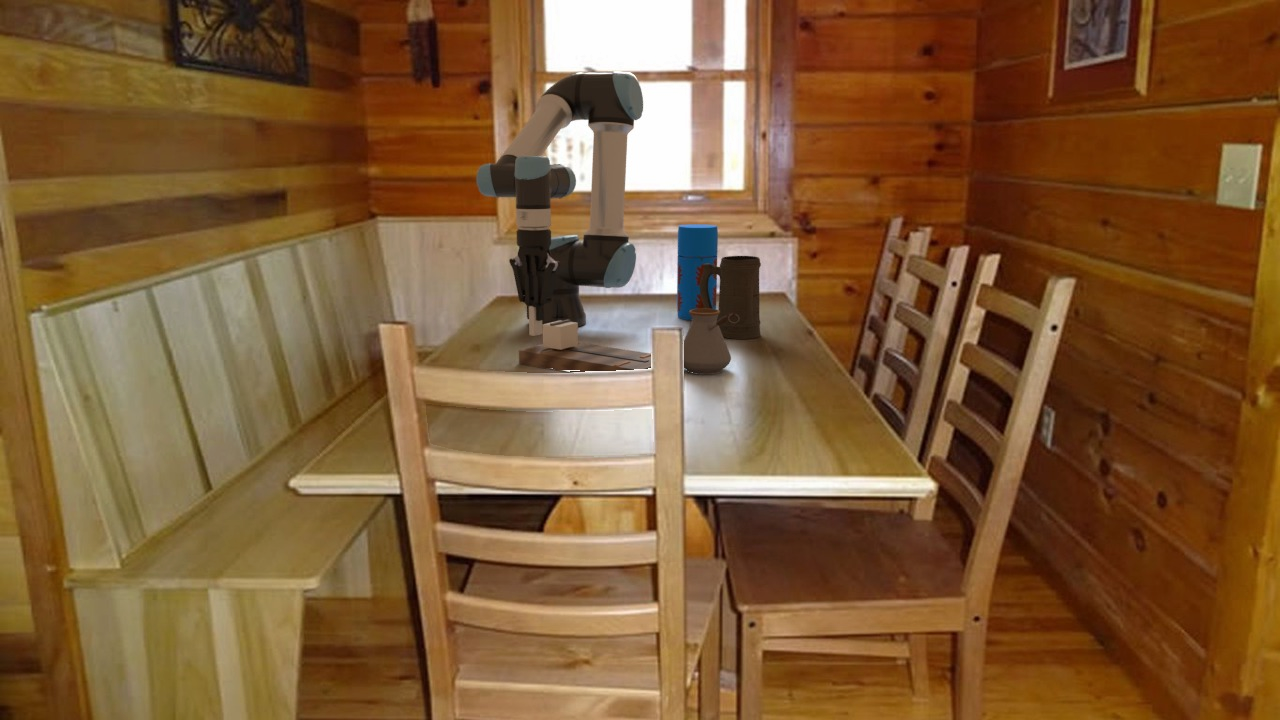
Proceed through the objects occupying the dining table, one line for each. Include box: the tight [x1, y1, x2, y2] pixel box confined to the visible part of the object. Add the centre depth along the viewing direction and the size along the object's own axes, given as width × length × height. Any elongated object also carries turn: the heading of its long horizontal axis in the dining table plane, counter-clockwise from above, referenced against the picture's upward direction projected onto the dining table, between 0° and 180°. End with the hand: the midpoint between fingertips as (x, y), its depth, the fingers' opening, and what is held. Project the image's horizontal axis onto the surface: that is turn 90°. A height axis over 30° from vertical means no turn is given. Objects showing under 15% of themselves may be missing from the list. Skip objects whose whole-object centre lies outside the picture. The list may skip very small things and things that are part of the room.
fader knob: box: [542, 320, 579, 350], centre depth 206 cm, size 5×6×5 cm
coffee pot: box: [683, 308, 739, 376], centre depth 193 cm, size 21×12×15 cm, turn 18°
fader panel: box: [518, 341, 652, 372], centre depth 201 cm, size 32×14×3 cm, turn 55°
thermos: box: [676, 224, 719, 321], centre depth 258 cm, size 11×11×25 cm
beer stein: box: [700, 255, 762, 340], centre depth 234 cm, size 15×11×20 cm
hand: (535, 334), depth 210 cm, fingers closed
